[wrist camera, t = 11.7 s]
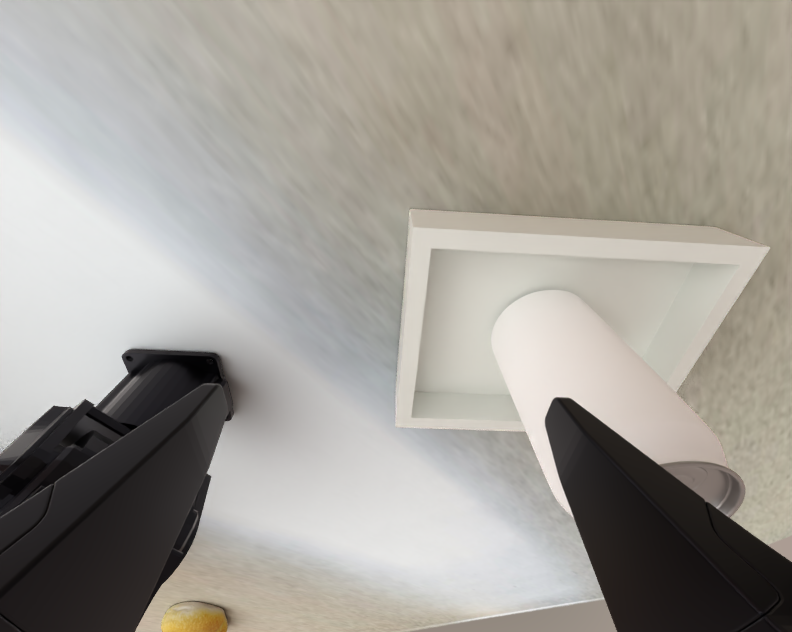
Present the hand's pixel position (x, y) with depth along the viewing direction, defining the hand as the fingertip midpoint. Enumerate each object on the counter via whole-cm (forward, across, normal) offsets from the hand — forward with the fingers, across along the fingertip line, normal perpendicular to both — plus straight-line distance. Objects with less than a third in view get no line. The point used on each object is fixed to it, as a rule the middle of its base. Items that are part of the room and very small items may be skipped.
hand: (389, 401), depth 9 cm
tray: (+13, -10, +5) cm, 17 cm away
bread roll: (+13, +24, +56) cm, 62 cm away
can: (+12, -10, +5) cm, 17 cm away
